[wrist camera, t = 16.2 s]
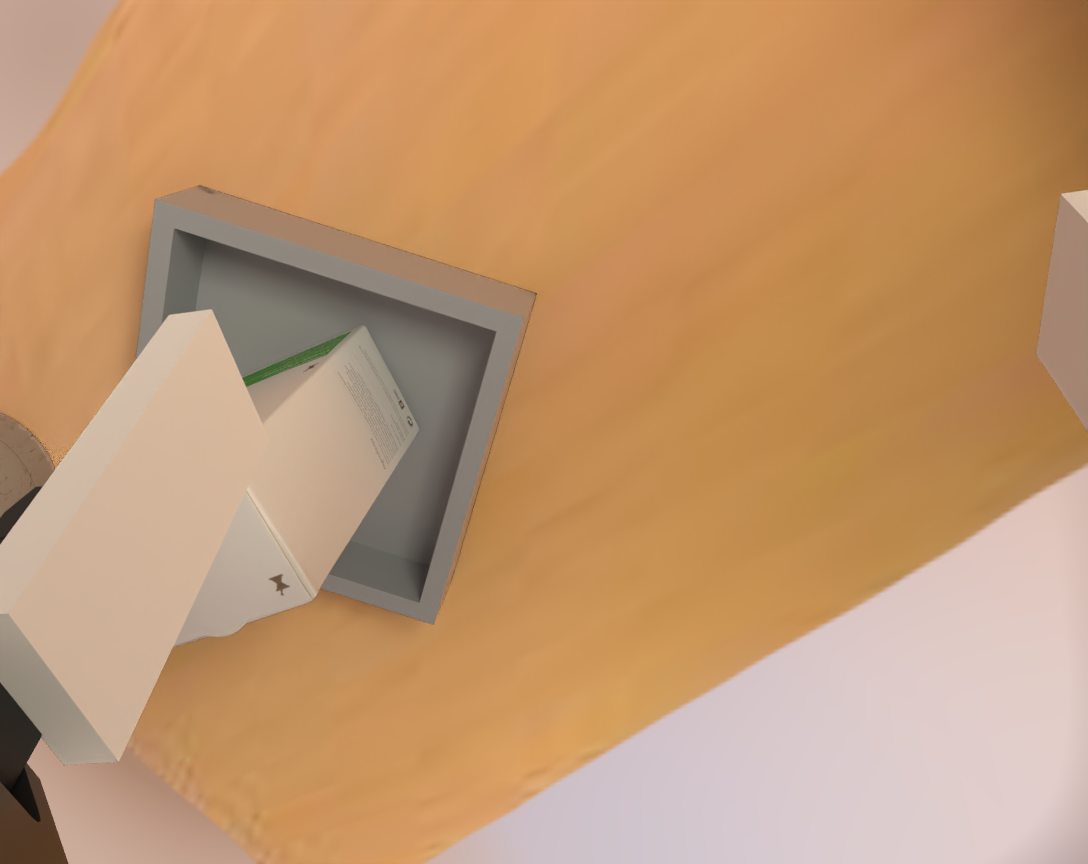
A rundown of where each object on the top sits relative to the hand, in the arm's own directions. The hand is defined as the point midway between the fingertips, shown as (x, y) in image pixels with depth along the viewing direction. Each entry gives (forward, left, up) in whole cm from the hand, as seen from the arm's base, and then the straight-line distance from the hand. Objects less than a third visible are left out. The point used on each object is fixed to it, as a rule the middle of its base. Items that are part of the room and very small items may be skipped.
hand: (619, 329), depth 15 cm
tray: (+12, +17, -30) cm, 36 cm away
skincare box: (+12, +17, -29) cm, 36 cm away
